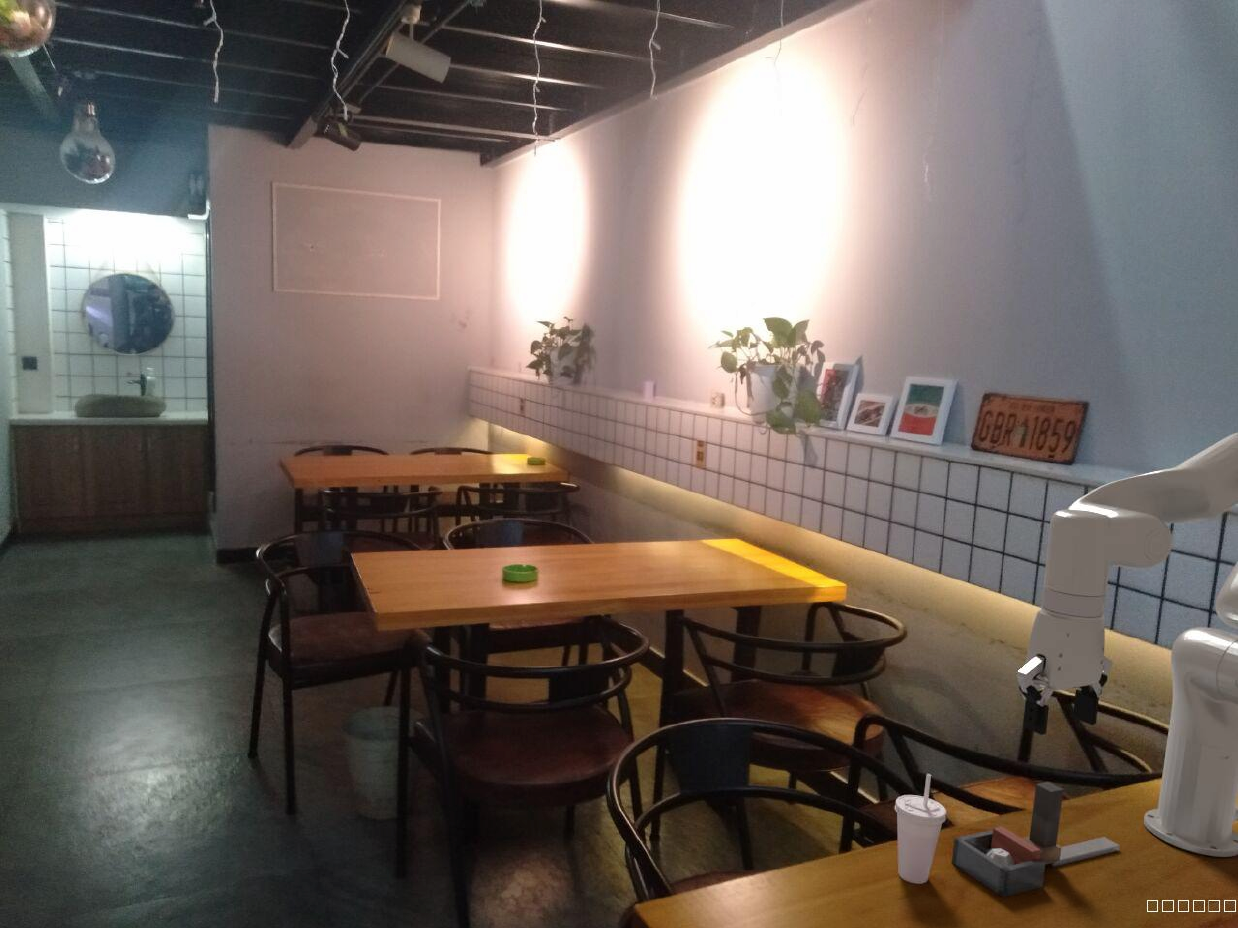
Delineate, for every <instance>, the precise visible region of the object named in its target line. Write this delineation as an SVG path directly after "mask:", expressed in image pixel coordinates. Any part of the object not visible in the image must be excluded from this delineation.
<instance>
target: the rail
mask: <svg viewBox="0 0 1238 928" xmlns="http://www.w3.org/2000/svg"><path fill="white" fill-rule="evenodd" d="M1060 847H1061V855H1060V861H1058V862H1054V863H1050V864H1049V865H1050V866H1052V867H1058V866H1061V865H1066V864H1070V863H1074V862H1077V861H1082V860H1085V859H1089V858H1093V857H1099V856H1101V855H1106V854H1110V853H1114V852H1118V851H1119V850H1120V844H1118V843H1116V842H1114V841H1112V840H1111V839H1108V838H1107V837H1106V836H1102V837H1099V838H1098V837H1097V838H1093V839H1090V840H1086V841H1080V842H1078V843H1073V844H1068V845H1064V846H1060Z"/></svg>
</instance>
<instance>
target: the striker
mask: <svg viewBox="0 0 1238 928" xmlns="http://www.w3.org/2000/svg"><path fill="white" fill-rule="evenodd" d="M1034 792H1035V793H1034V799H1033V808H1032V816H1031V823H1030V830H1029V836H1026V837H1020V836H1019V835H1017V834H1016V833H1013V832H1012V831H1010V830H1008V829H1006V828H1005V827H1003V826H998V827H993V829H992V830H993V835H992V843H991V849H997V848H1001V849H1003V850H1005V851H1007V852H1008V853H1010V855H1011V857H1012V859H1013V861H1014V865H1015V864H1020V863H1024V862H1028V861H1032V860H1036V859H1042V860H1044V861H1045V866H1046V865H1050V863H1054V862H1058V861H1060V855H1061V847H1062V846H1060V845H1059V844H1057V842H1058V834H1059V827H1060V818H1061V811H1062V803H1063V795H1064V788H1062V787H1060V786H1057V785H1056V784H1054V783H1052V782H1049V781H1046V782H1041V783H1040V782H1039V783H1036V784H1035V790H1034Z"/></svg>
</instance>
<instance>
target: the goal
mask: <svg viewBox="0 0 1238 928" xmlns="http://www.w3.org/2000/svg"><path fill="white" fill-rule="evenodd" d="M992 835H993V829H991V830H986V831H980V832H975V833H972V834H968V835H963V836H958V837H954V838H953V845H952V846H953V849H952V855H951V856H952V857H951V863H952V864H953V863H954V864H955V865H954V864H953V865H954V866H956V867H958V868H959V869H960V870H962V871H963V872H965V873H966V874H967V875H969V876H970V877H972V878H973V879H975V880H976V881H978V882H980V883H981V884H983V885H984V886H985V887H986V888H988V889H989V890H991V891H992V892H994V893H995V894H997V895H998V896H1000V897H1001V898H1005V897H1008V896H1013V895H1016V894H1020V893H1024V892H1027V891H1031V890H1035V889H1039V888H1040V889H1041V888H1043V883H1044V877H1045V876H1044V875H1045V870H1046V867H1045V866H1046V865H1045V861H1044V860H1042V859H1036V860H1032V861H1028V862H1024V863H1020V864H1015V865H1011V866H1007V867H1004V866H1003V865H1001V864H1000V863H998V862H996V861H995V860H993V859H992V858H990V857H989V856H987V855H986V854H987V853H988V852H989V851H990V850H991V843H992Z"/></svg>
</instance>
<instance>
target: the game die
mask: <svg viewBox="0 0 1238 928" xmlns="http://www.w3.org/2000/svg"><path fill="white" fill-rule="evenodd" d="M986 855H987V856H989V857H990V858H992V859H993V860H995V861H996V862H998V863H1000V864H1001V865H1003V866H1004V867H1007V866H1011V865H1014V861H1013V859H1012V857H1011V855H1010V853H1008V852H1007V851H1005V850H1003V849H1001V848H997V849H991V850H990V851H989V852H988V853H987V854H986Z"/></svg>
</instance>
